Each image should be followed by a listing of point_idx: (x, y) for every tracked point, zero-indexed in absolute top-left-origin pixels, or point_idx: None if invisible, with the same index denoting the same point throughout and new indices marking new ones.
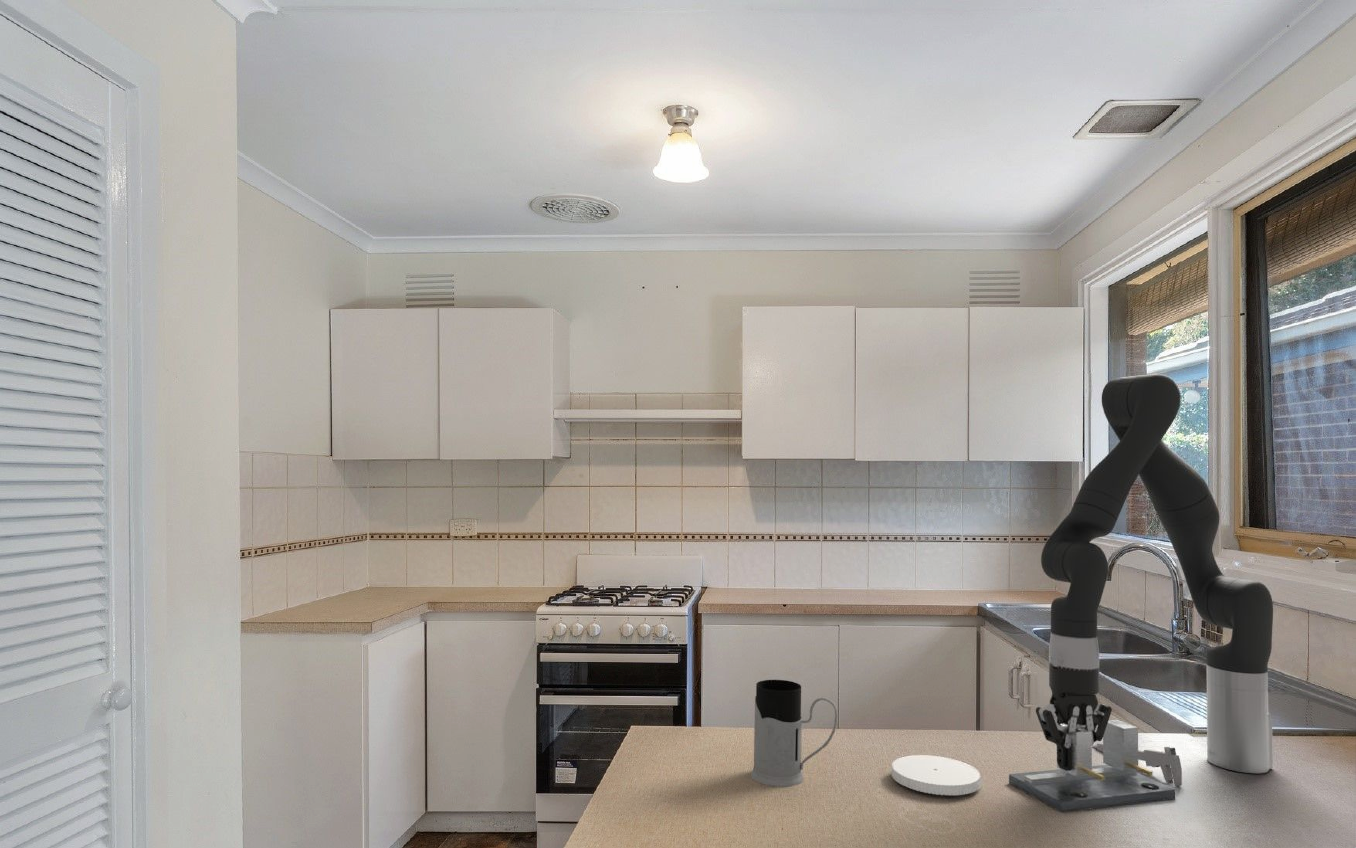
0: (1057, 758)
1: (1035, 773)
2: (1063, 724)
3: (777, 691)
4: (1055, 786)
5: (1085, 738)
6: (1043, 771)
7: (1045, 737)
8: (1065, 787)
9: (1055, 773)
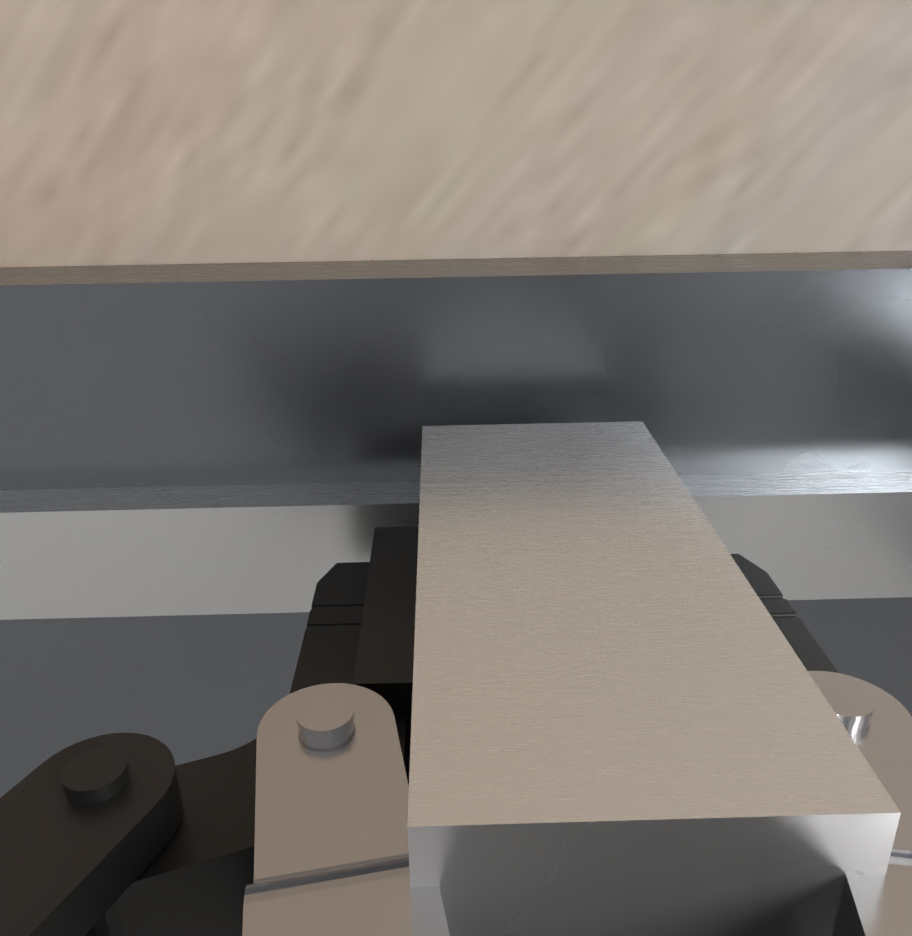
0: (315, 613)
1: (181, 334)
2: (589, 848)
3: None
4: (175, 667)
5: None
6: (318, 300)
7: (26, 782)
8: (257, 698)
9: (305, 529)
